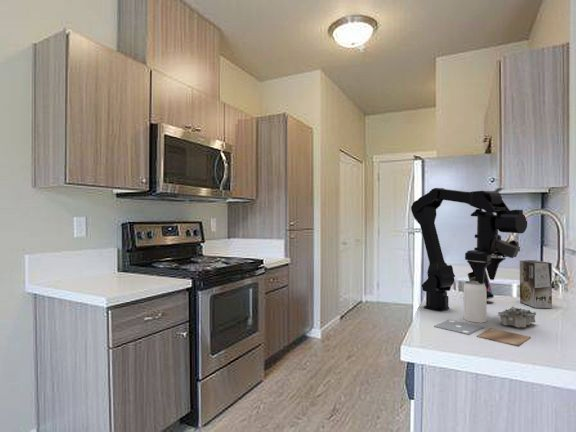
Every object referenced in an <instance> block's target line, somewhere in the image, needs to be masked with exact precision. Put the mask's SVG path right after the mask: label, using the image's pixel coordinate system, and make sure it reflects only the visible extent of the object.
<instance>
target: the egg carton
mask: <svg viewBox="0 0 576 432" xmlns="http://www.w3.org/2000/svg"><path fill="white" fill-rule="evenodd" d="M536 316H537V312H536V311H533V312H532V311H530V309H524V308H520V307H519V308H518V307H515V306H511V307H510V308H508V309H505V310H503V311H498V317H499V319H500V324H501V325H503V326H514V327H515V328H526V327H527V326H530V325H531V323H533V324H534V323H536V318H535V317H536Z"/></svg>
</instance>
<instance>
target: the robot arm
mask: <svg viewBox="0 0 576 432" xmlns="http://www.w3.org/2000/svg"><path fill="white" fill-rule="evenodd" d="M443 201H450V202H455V203H456V202H457V203H461V204H467V205H469V206H470V207H473V208H475V210H474V211H473V212H471V214H470V216H471V217H476V219H477V220H476V222H477V223H476V227H477V228H476V234H474V238H475V239H476V247H474V249H470V250H467V251H466V252H465V253H464V261H465V260H466V263H468V265H469V266H470V269H471V270H472V272H474V274H475V276H476V279H477V281H478V283H479V284H483V281H484V276H485V270H486V273H487V276H488V279H489V281H494V280H495V278H496V274H497V271H498V268H499V266H500V264H501V263H502V262H503V261H505V260H506V258H510V259H513V258H517V255H518V253H519V252H520V251H521V246H520V244H519V241H517V240H514V239H513V240H510V241H509V242H508V241H506V240H502V235H501V234H499V232H500V233H505V234H506V233H507V234H508V233H510V234H524V233H525V232H526V230H527V228H528V220H527V218H526V216H525V214H524V210H523V209H510V208H509V207H508V206H507V205H506V203H505V202H504V200H503V197H502V195H501V193H500V192H499V191H495V190H476V191H465V190H464V191H463V190H456V189H448V188H447V189H446V188H444V187H433V188H432V189H430V191H429V192H428V193H426V194H424V195H422V196H420V197H419V198H418V199H417V200H415V201H413V203H412V205H411V207H410V210H411V212H412V213H411V214H412V215H413V218H414V220H415V221H416V222H417V223H418V224H419V226H420V230H421V234H422V239H423V242H424V246H425V250H426V254H427V258H428V261H429V265H428V269H427V272H426V273H427V279H425V281H424V282H422V284H421V288H422V291H423V292H425V305H424V306H423V309H428V310H432V311H439V312H443V311H445V310H448V309H450V306H449V295H448V292H450V291H451V288H452V286H453V284H454V283H455V277H456V275H455V273H454V268H453V265H451V264H449V265H448V264H447V263H446V261H445V259H444V256H443V251H442V247H441V244H440V240H439V235H438V231H437V227H436V224H435V221H436V218H437V209H439V208H440V207H441V205H442V203H443ZM483 210H484V211H483Z"/></svg>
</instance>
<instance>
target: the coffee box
mask: <svg viewBox="0 0 576 432" xmlns="http://www.w3.org/2000/svg"><path fill="white" fill-rule="evenodd" d="M552 264H553V263H552V262H548V261H542V260H537V259H533V260H529V259H528V260H527V259H526V260H519V302H520V303H521V304H524V305H526V306H529V307H532V308H535V309H536V308H537V309H539V308H542V309H551V308H553V306H552V305H553V303H552V302H553V299H552V298H553V296H552V295H553V294H552V292H553V291H552V290H553V287H552V286H553V285H552V283H553V281H552V280H553V277H552V276H553V275H552V274H553V273H552V272H553V267H552Z"/></svg>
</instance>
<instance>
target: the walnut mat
mask: <svg viewBox="0 0 576 432" xmlns="http://www.w3.org/2000/svg"><path fill="white" fill-rule="evenodd" d="M476 338H479V339H484V340H488V341H493V342H497V343H501V344H504V345H509V346H514V347H518V348H519V347H520V346H522V345H524V342H525V343H526V342H528V341H529V340H531V338H532V337H531V336H528V335H524V334H519V333H516V332H511V331H506V330H502V329H501V330H500V329H496V328H493V327H492V328H491V327H490V328H488V329H486V330H485V331H482V332H481V333H478V334H477V335H476Z"/></svg>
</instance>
